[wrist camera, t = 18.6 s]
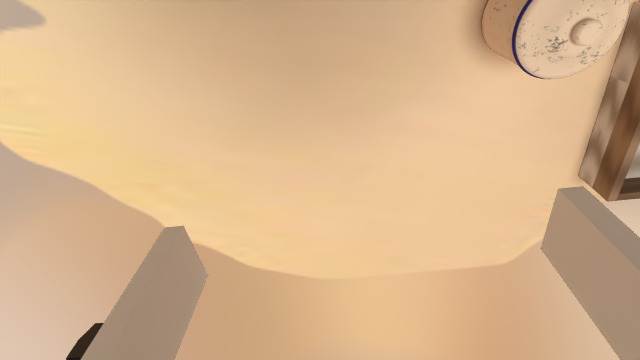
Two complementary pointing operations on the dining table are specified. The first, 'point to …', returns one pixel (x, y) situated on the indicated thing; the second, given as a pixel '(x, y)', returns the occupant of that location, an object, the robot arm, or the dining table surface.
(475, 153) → the dining table surface
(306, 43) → the dining table surface
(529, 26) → the teacup with lid
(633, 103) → the box
